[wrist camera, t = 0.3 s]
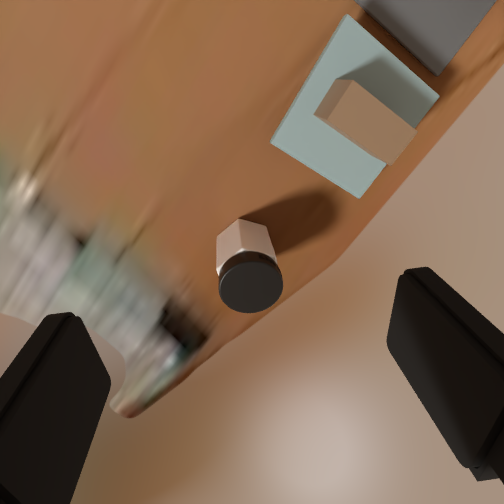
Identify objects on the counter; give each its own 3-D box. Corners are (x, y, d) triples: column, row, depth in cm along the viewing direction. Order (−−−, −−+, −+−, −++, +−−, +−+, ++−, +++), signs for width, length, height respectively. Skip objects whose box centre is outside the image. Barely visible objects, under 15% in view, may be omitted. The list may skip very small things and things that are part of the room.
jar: (273, 261, 50) (288, 308, 40) (225, 271, 50) (227, 321, 40) (264, 212, 45) (278, 251, 35) (212, 223, 46) (210, 266, 35)
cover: (343, 15, 30) (369, 3, 25) (434, 95, 35) (471, 98, 30) (269, 141, 36) (278, 152, 31) (356, 196, 40) (376, 213, 35)
